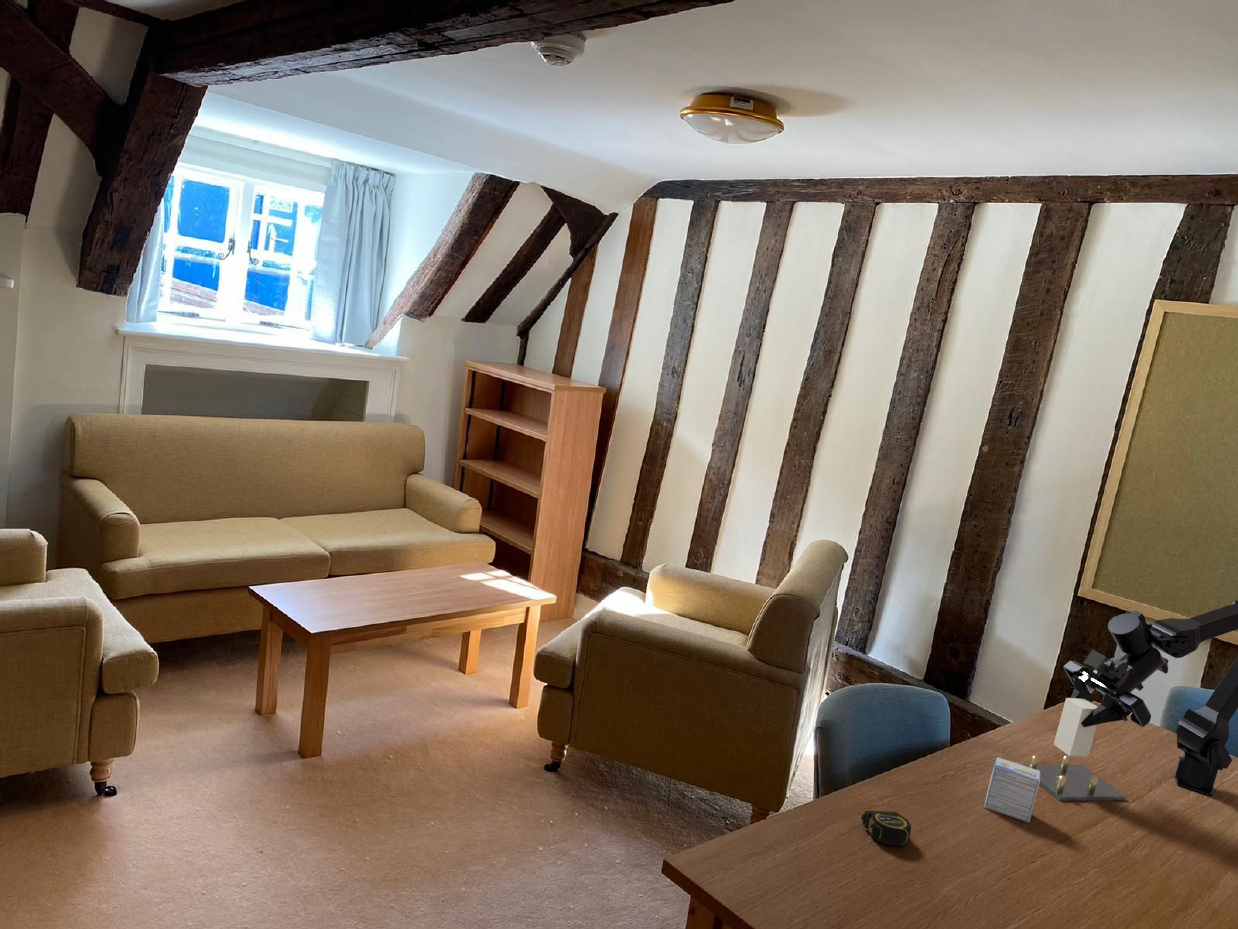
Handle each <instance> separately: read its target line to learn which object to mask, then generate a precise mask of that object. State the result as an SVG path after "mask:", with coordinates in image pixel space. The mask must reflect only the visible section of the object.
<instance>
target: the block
mask: <svg viewBox="0 0 1238 929" xmlns="http://www.w3.org/2000/svg"><path fill="white" fill-rule="evenodd" d="M1097 707H1098V706H1097V705H1095V704H1094V703H1093V702H1089V701H1087V700H1086V699H1079V698H1070V697H1065V701H1064V704H1063V708H1062V712H1061V716H1060V719H1059V723H1058V727H1057V730H1056V734H1055V737H1054V741H1053V746H1055V747H1057V749H1059V750H1061V751H1062V752H1063V753H1065V755H1067V756H1069V757H1089V755H1090V752H1091V748H1092V744H1093V739H1094V737H1095V734H1096V729H1097V726H1098V725H1093V726H1089V727H1083V726H1082V724H1081V723H1082V721H1083V720H1084V719H1085V718H1086V717H1087V716H1088V715H1089V714H1090V713H1092V712H1093V711H1094V710H1095V709H1096V708H1097Z"/></svg>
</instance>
